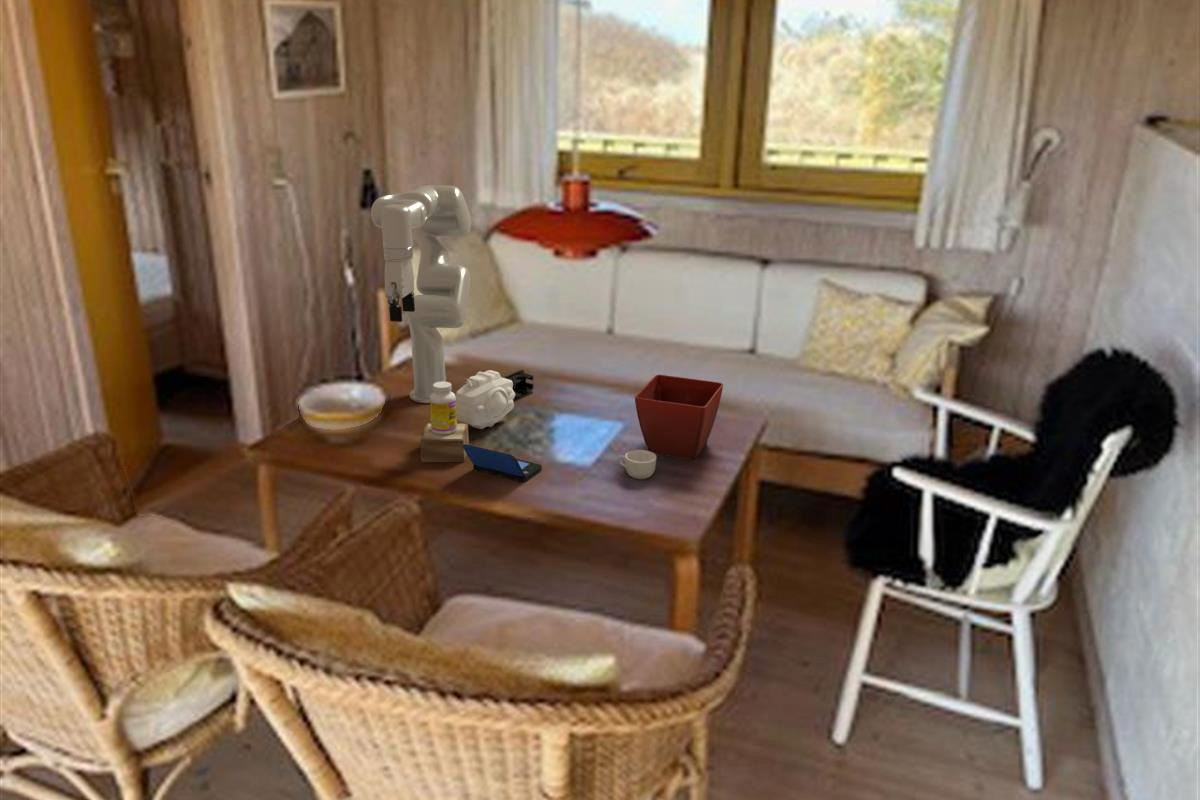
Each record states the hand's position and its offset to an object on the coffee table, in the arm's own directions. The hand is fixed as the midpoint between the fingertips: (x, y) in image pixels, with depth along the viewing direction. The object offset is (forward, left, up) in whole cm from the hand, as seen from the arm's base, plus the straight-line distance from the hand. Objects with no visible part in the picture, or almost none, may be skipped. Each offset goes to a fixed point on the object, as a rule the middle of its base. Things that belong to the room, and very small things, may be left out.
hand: (402, 316), depth 247 cm
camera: (-5, +21, -32) cm, 39 cm away
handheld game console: (+24, +33, -33) cm, 52 cm away
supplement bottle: (+15, +15, -26) cm, 34 cm away
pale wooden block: (+15, +15, -32) cm, 39 cm away
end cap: (-30, +23, -33) cm, 50 cm away
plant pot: (+1, +75, -33) cm, 82 cm away
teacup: (+19, +66, -33) cm, 76 cm away
